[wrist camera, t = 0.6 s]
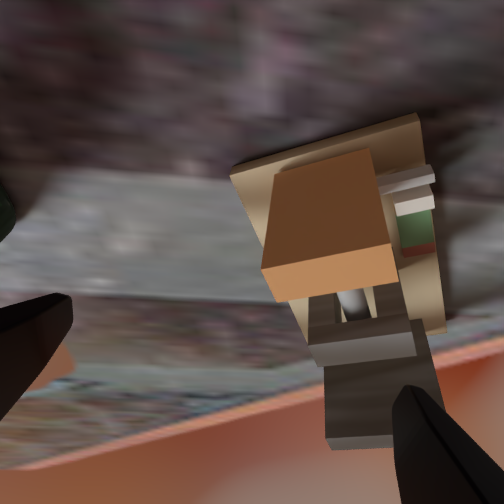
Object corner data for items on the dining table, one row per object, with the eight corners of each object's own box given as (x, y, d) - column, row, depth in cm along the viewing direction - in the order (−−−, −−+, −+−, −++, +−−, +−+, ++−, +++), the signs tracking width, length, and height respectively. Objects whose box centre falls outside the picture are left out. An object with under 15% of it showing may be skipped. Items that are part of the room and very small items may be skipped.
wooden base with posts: (232, 166, 23) (198, 276, 16) (416, 112, 20) (467, 220, 13) (311, 340, 33) (310, 454, 26) (444, 322, 30) (482, 446, 23)
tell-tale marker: (390, 188, 21) (394, 203, 20) (427, 179, 21) (433, 194, 20) (393, 201, 22) (396, 216, 21) (428, 192, 21) (434, 208, 20)
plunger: (274, 174, 22) (260, 269, 16) (424, 131, 19) (470, 227, 14) (318, 287, 27) (320, 389, 21) (441, 266, 25) (479, 374, 19)
